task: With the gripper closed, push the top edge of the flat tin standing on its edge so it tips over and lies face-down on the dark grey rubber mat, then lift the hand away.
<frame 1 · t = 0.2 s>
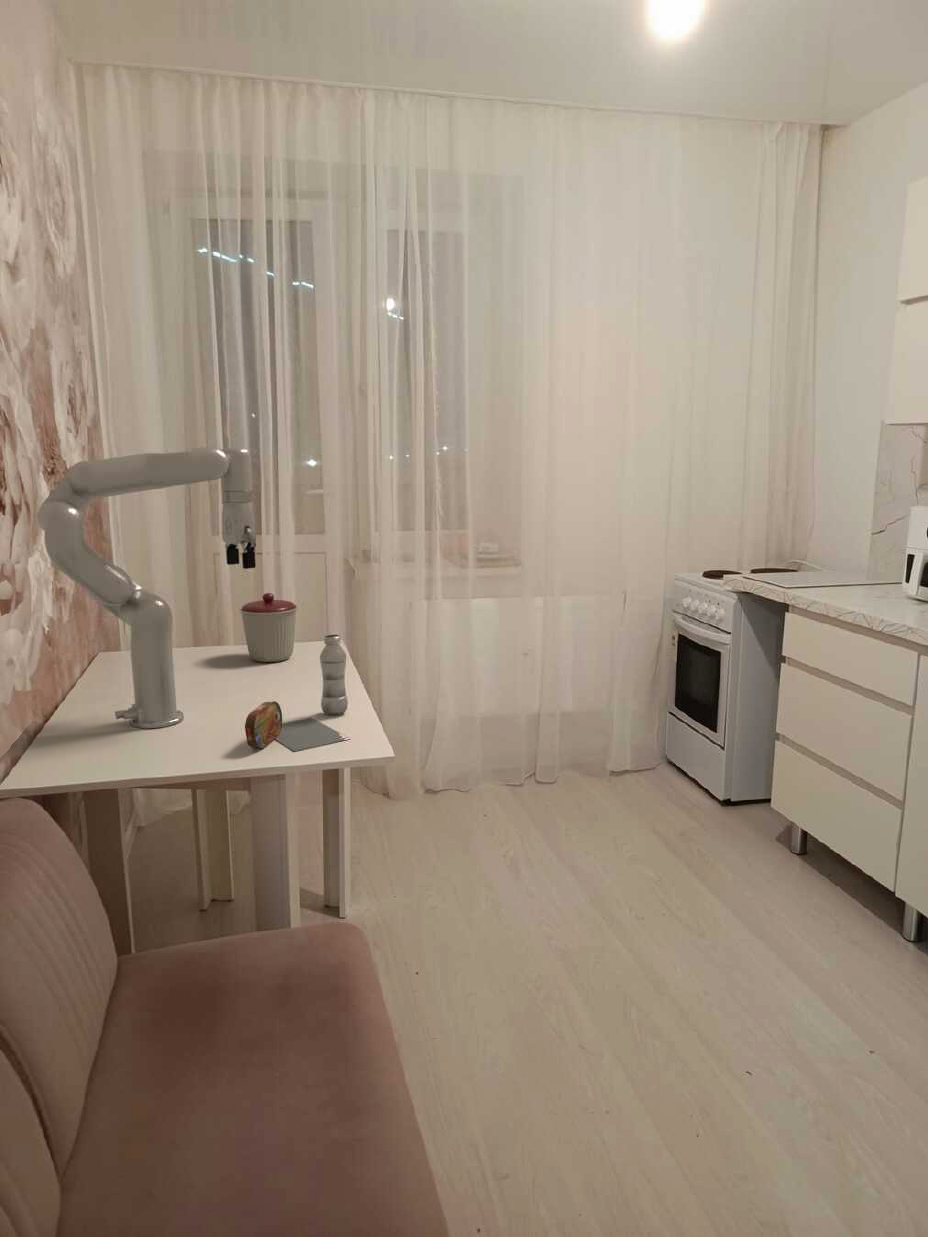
hand: (241, 566, 226), 36 cm above the table, tool pointing down, fingers open, 9 cm apart
mat: (303, 734, 209), on the table
plastic bottle: (334, 714, 225), on the table
tin: (265, 742, 204), on the table, touching mat
canister: (271, 659, 282), on the table
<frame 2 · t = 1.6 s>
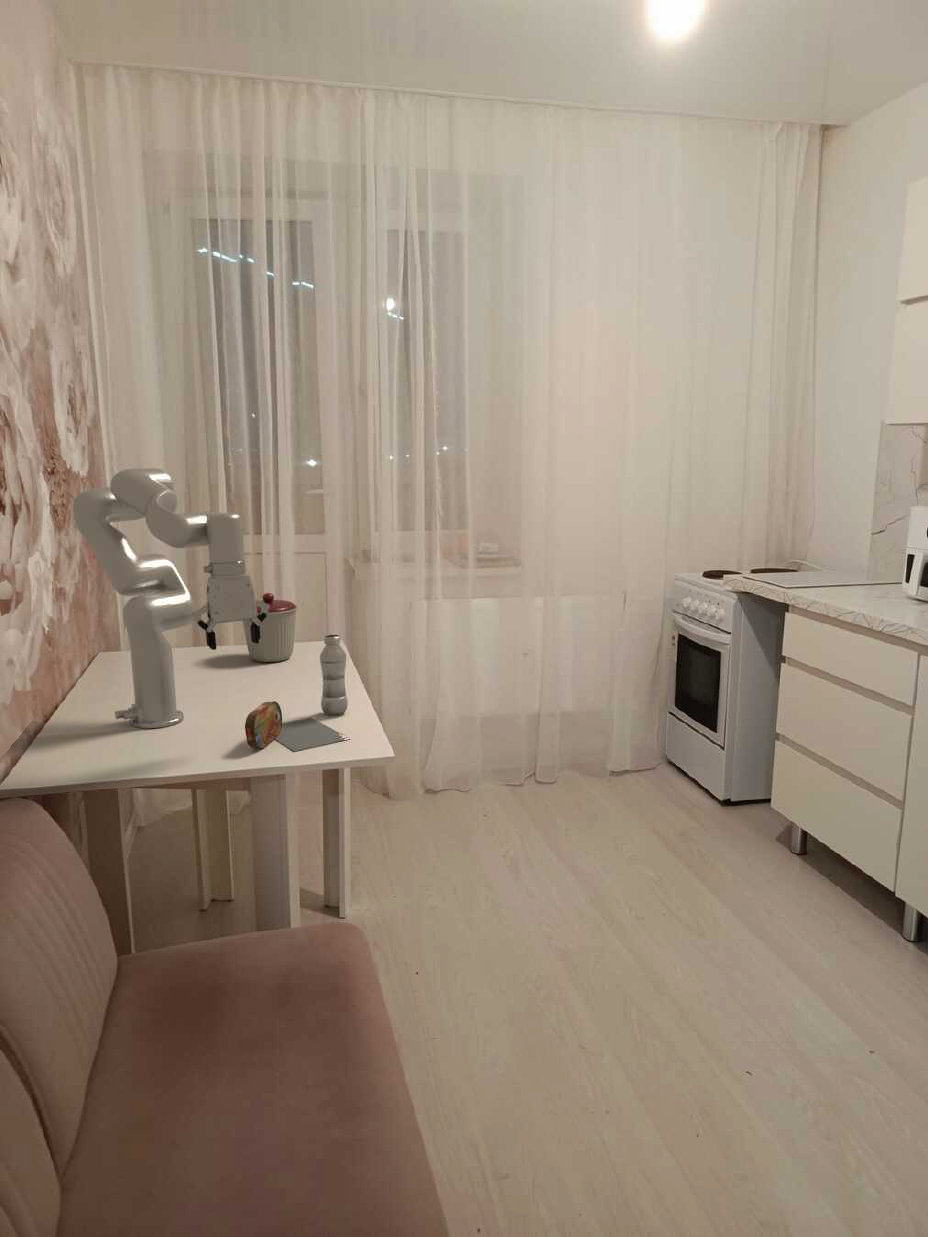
hand: (234, 645, 199), 23 cm above the table, tool pointing down, fingers open, 9 cm apart
nothing on the table moved.
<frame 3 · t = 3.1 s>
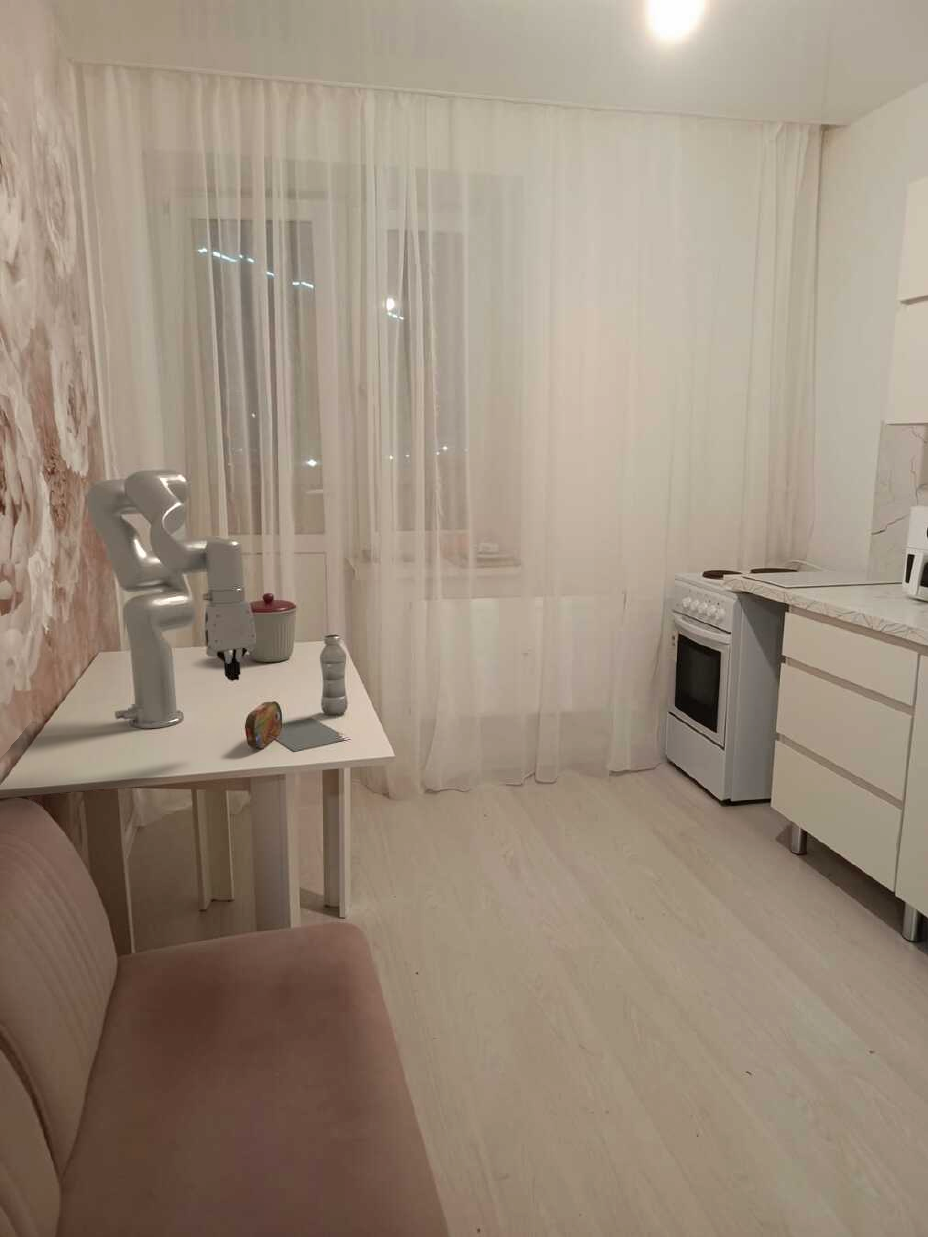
hand: (233, 679, 196), 16 cm above the table, tool pointing down, fingers closed
nothing on the table moved.
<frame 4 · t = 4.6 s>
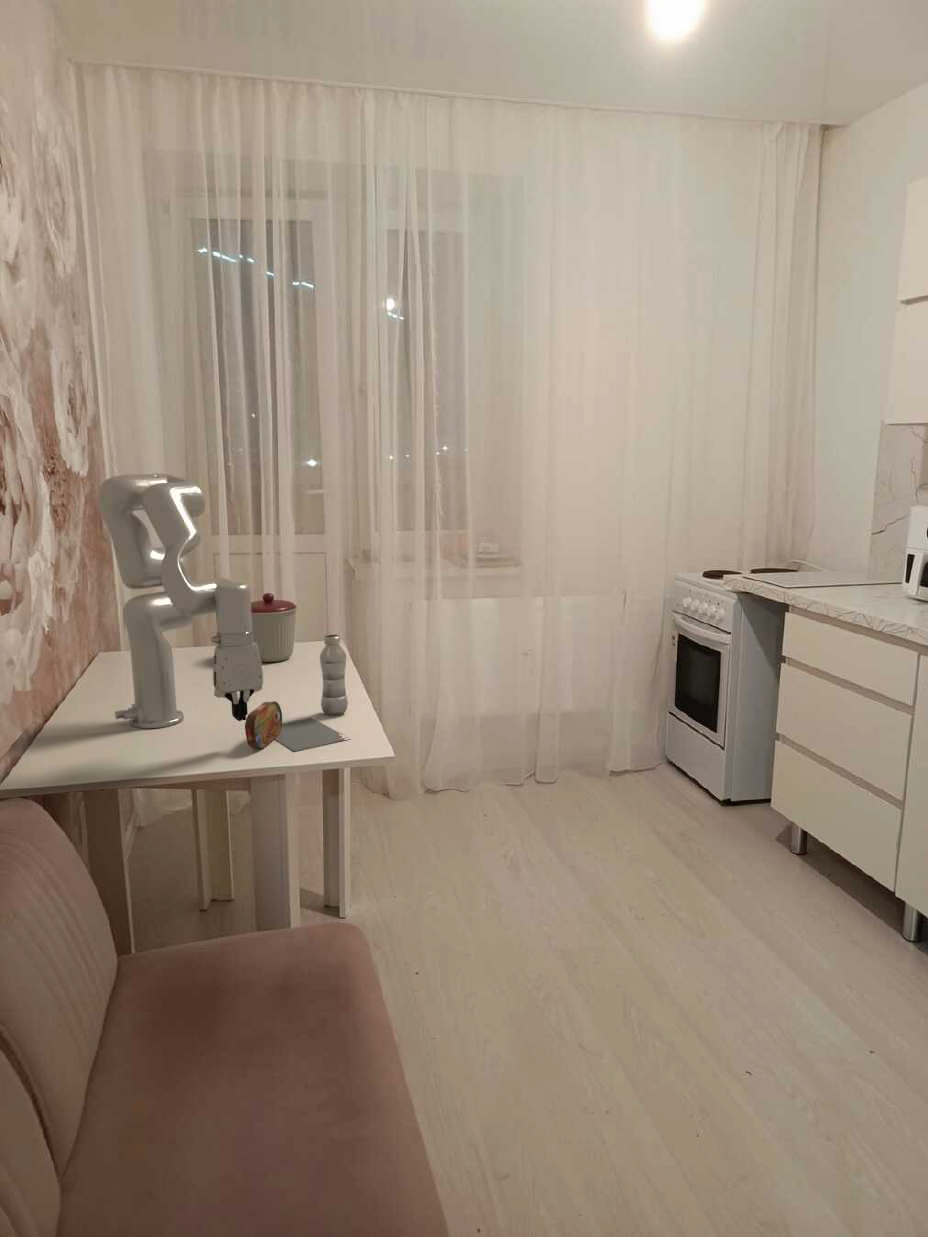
hand: (240, 718, 199), 7 cm above the table, tool pointing down, fingers closed
nothing on the table moved.
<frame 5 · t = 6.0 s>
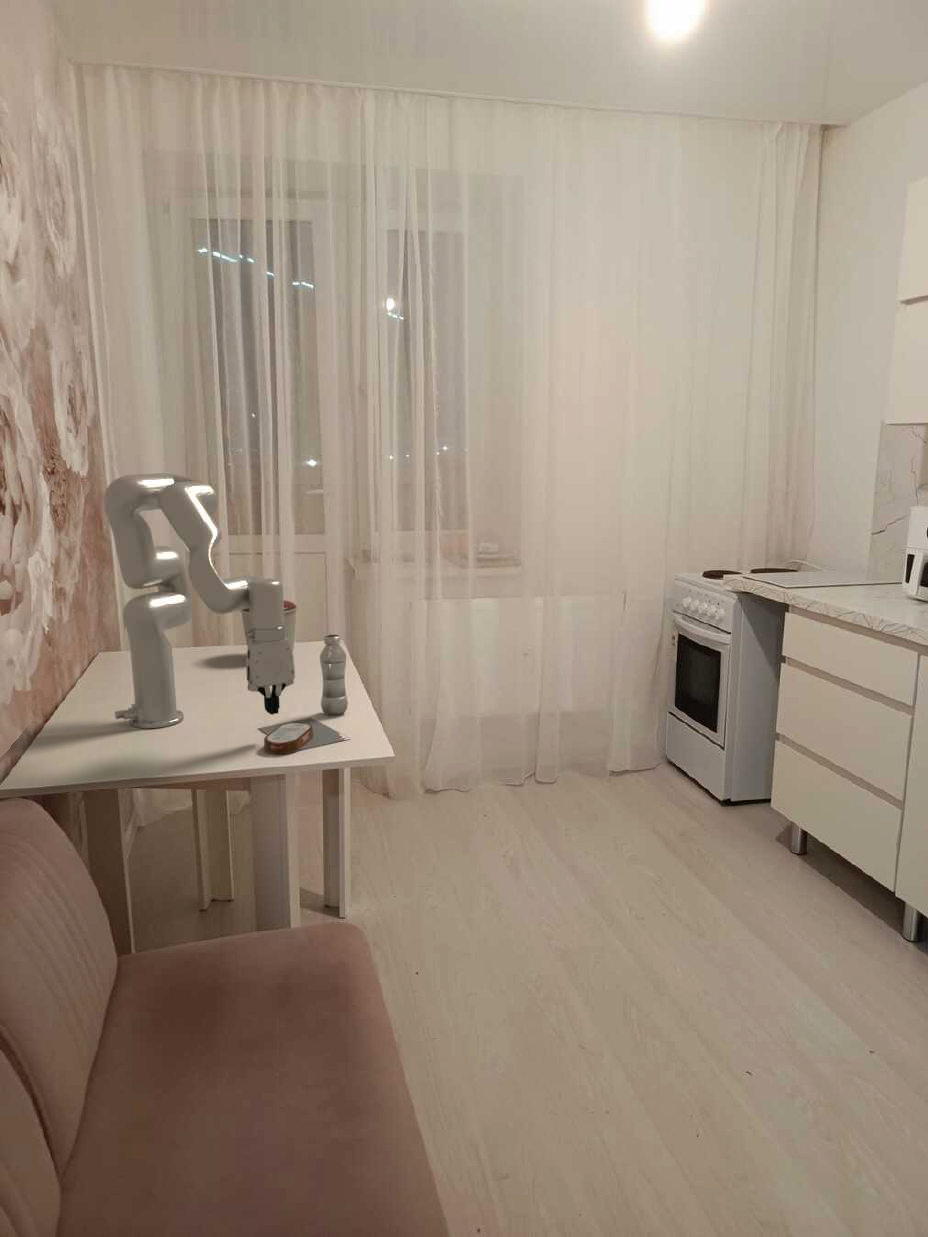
hand: (272, 712, 204), 7 cm above the table, tool pointing down, fingers closed
tin: (271, 735, 203), point 2 cm above the table, touching mat
everything else where it was.
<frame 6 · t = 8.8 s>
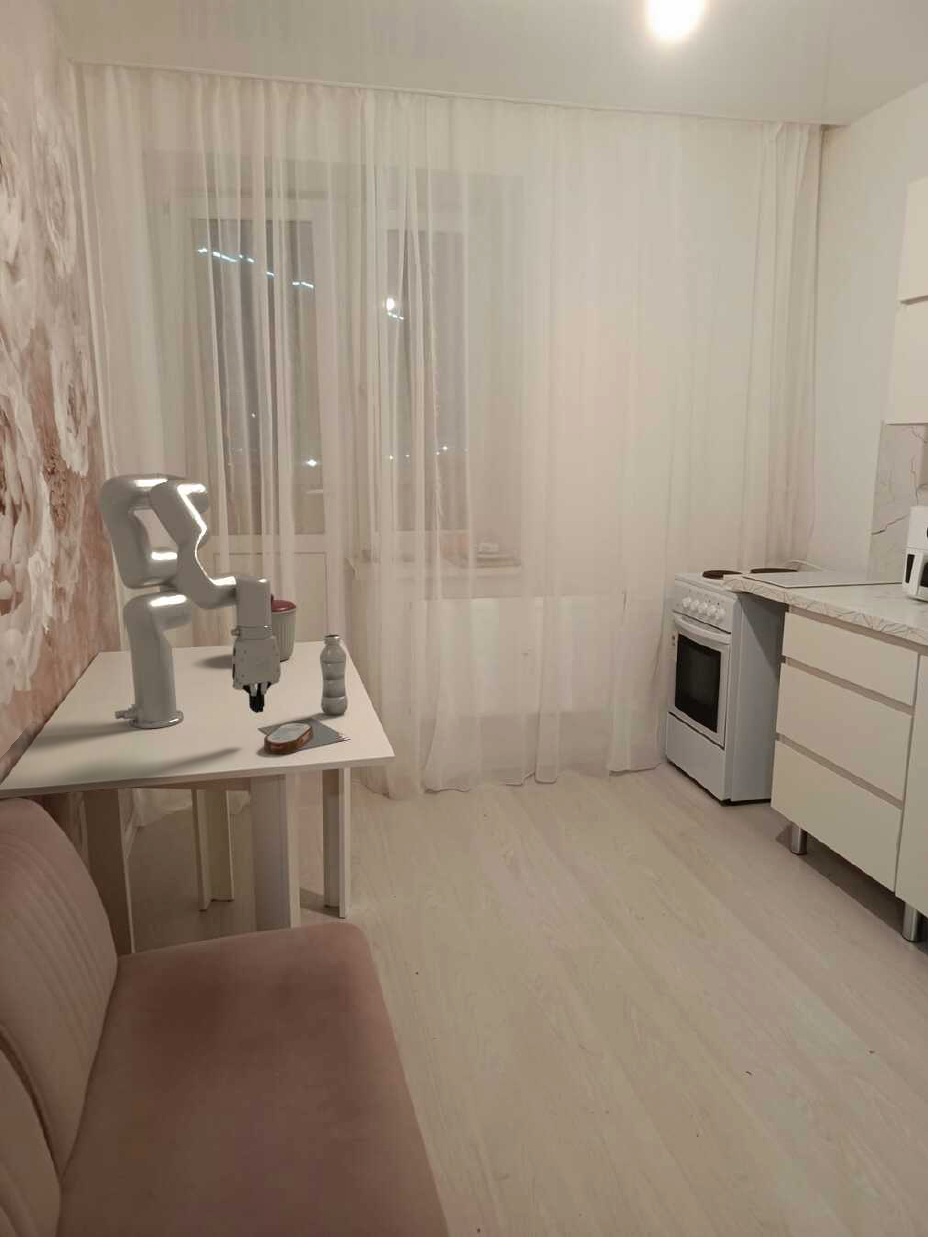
hand: (257, 710, 202), 8 cm above the table, tool pointing down, fingers closed
nothing on the table moved.
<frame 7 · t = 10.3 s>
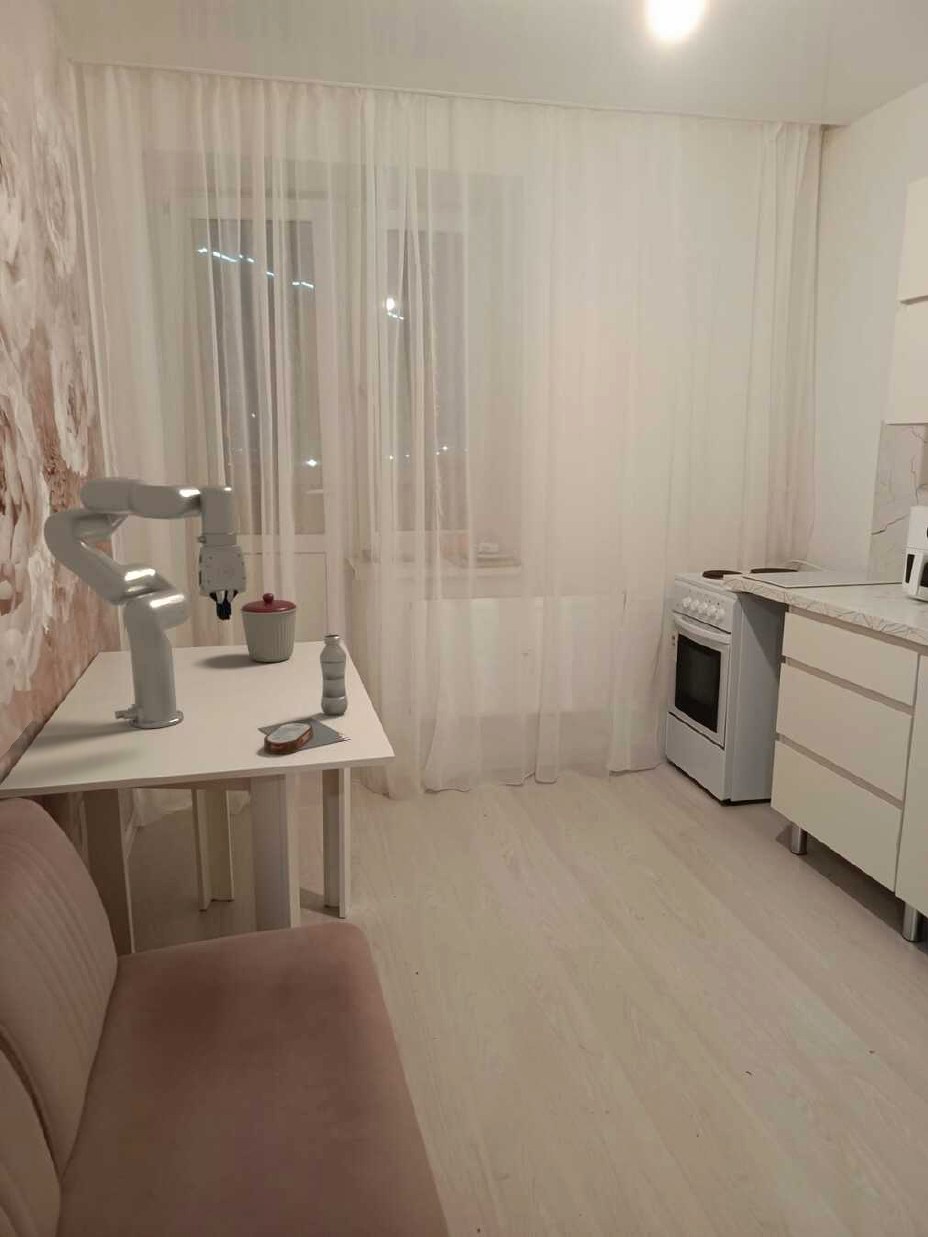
hand: (224, 619, 207), 27 cm above the table, tool pointing down, fingers closed
nothing on the table moved.
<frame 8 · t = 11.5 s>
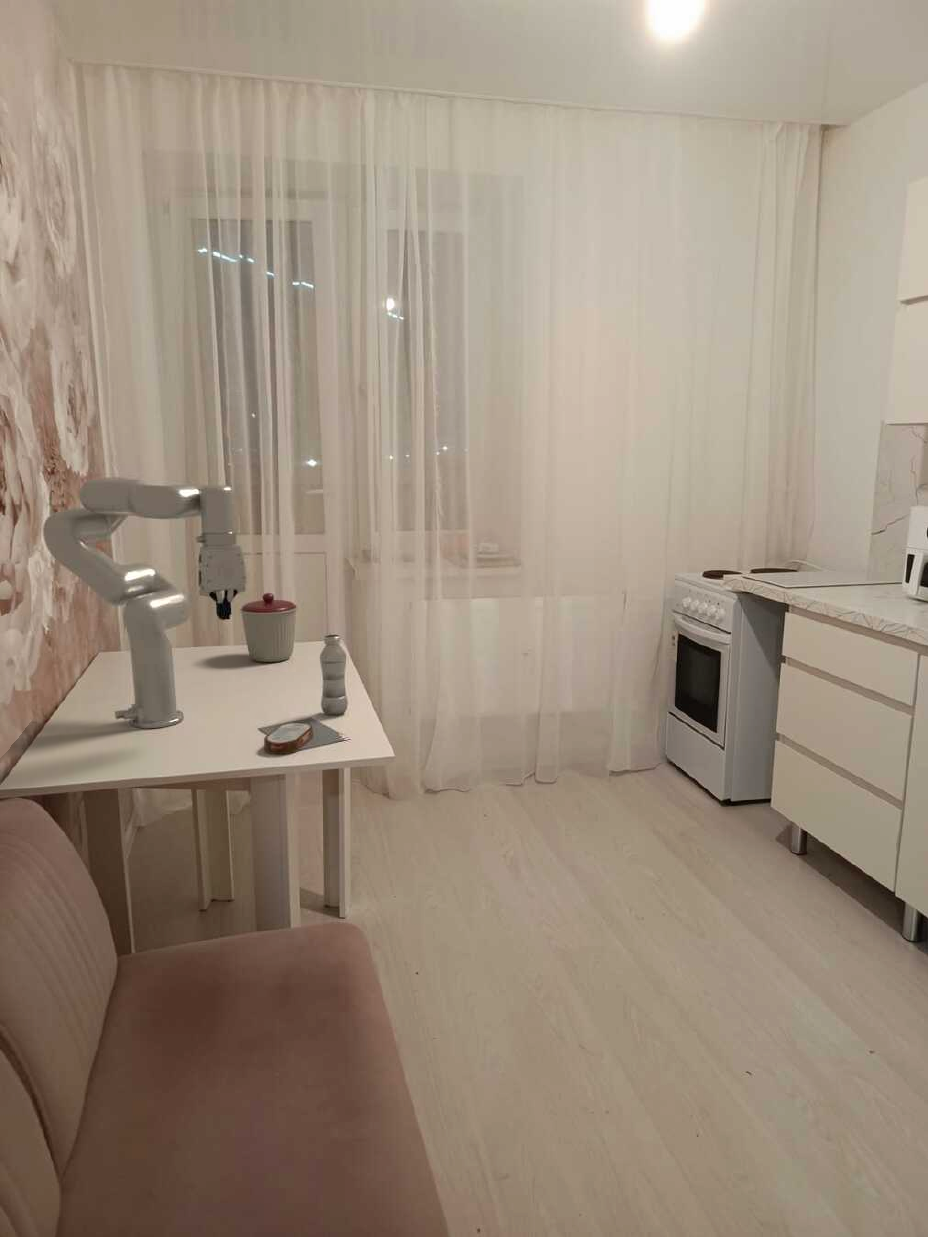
hand: (224, 618, 207), 27 cm above the table, tool pointing down, fingers closed
nothing on the table moved.
at the end: tin tilted 94°; tin touching mat; tin inside the target area (4.1 cm from its centre), point 1.8 cm above the table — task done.
